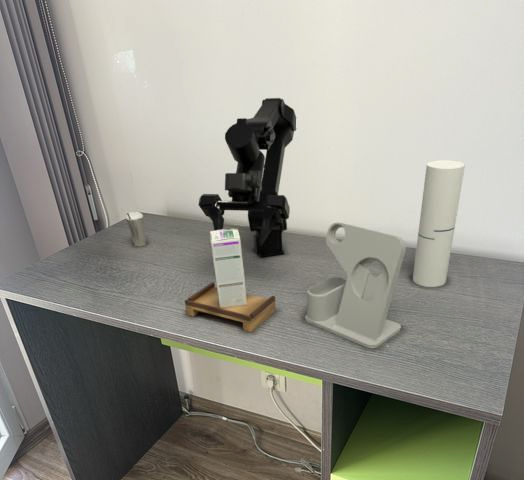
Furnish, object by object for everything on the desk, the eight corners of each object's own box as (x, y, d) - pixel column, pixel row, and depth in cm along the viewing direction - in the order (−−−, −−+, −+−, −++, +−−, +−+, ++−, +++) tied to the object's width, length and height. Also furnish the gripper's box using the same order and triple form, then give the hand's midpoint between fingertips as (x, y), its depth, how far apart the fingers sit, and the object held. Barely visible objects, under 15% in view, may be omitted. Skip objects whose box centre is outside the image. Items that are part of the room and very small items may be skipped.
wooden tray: (275, 311, 103) (275, 296, 101) (251, 332, 96) (249, 317, 94) (213, 296, 110) (212, 282, 108) (186, 315, 103) (184, 300, 102)
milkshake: (127, 248, 138) (119, 212, 133) (136, 241, 142) (130, 206, 137) (141, 249, 137) (134, 213, 131) (151, 242, 141) (144, 207, 136)
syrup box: (247, 305, 100) (242, 237, 92) (218, 309, 100) (210, 240, 92) (244, 293, 105) (239, 227, 97) (216, 296, 104) (209, 230, 96)
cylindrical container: (447, 287, 108) (467, 168, 94) (413, 286, 109) (428, 168, 95) (444, 273, 113) (462, 160, 100) (411, 272, 115) (425, 160, 101)
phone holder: (300, 319, 99) (299, 232, 90) (332, 301, 105) (334, 218, 95) (373, 350, 89) (380, 255, 79) (404, 328, 94) (414, 237, 85)
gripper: (195, 154, 101) (183, 225, 98) (285, 154, 96) (274, 228, 93) (212, 183, 111) (201, 248, 108) (293, 184, 107) (284, 251, 104)
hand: (238, 244), depth 103 cm, fingers open, 9 cm apart
